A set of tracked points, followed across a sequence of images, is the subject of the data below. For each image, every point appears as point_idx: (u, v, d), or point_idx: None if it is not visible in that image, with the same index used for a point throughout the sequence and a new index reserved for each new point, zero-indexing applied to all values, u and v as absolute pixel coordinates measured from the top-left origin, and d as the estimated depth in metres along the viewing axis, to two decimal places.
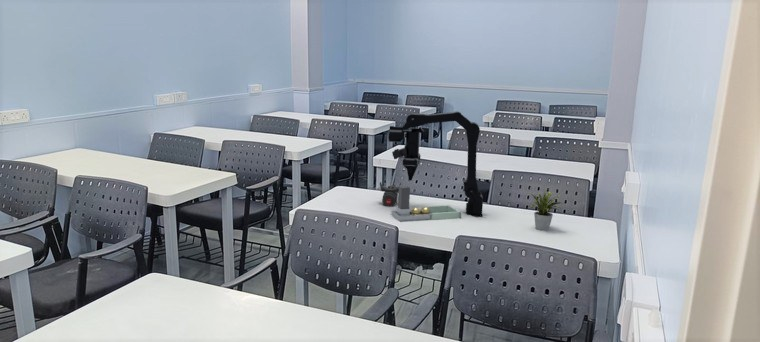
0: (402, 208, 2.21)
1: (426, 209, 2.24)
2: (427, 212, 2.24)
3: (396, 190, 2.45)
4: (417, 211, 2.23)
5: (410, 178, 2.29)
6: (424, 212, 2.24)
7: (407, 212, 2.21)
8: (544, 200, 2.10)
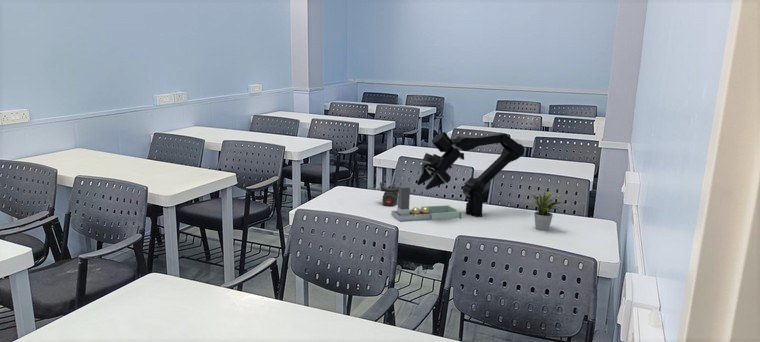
0: (402, 208, 2.21)
1: (426, 209, 2.24)
2: (427, 212, 2.24)
3: (396, 190, 2.45)
4: (417, 211, 2.23)
5: (428, 187, 2.19)
6: (424, 212, 2.24)
7: (407, 212, 2.21)
8: (544, 200, 2.10)
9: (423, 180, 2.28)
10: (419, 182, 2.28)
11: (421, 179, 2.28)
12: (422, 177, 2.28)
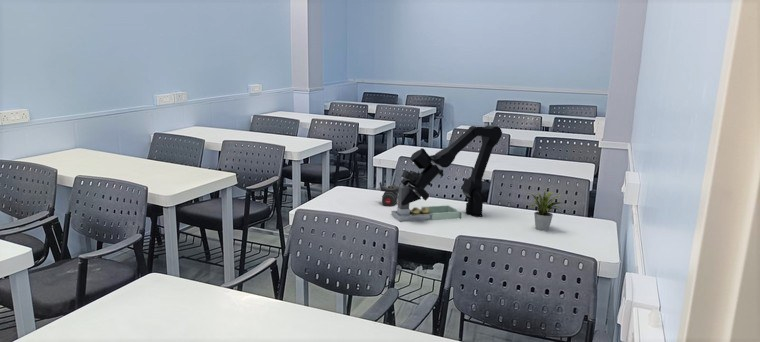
0: (402, 208, 2.21)
1: (426, 209, 2.24)
2: (427, 212, 2.24)
3: (396, 190, 2.45)
4: (417, 211, 2.23)
5: (404, 203, 2.20)
6: (424, 212, 2.24)
7: (407, 212, 2.21)
8: (544, 200, 2.10)
9: None
10: None
11: None
12: None
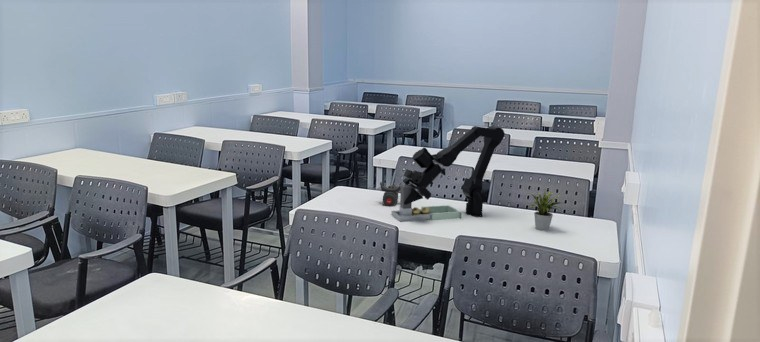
0: (404, 207, 2.21)
1: (426, 209, 2.24)
2: (427, 212, 2.24)
3: (396, 190, 2.45)
4: (417, 211, 2.23)
5: (406, 202, 2.20)
6: (424, 212, 2.24)
7: (410, 211, 2.22)
8: (544, 200, 2.10)
9: None
10: None
11: None
12: None
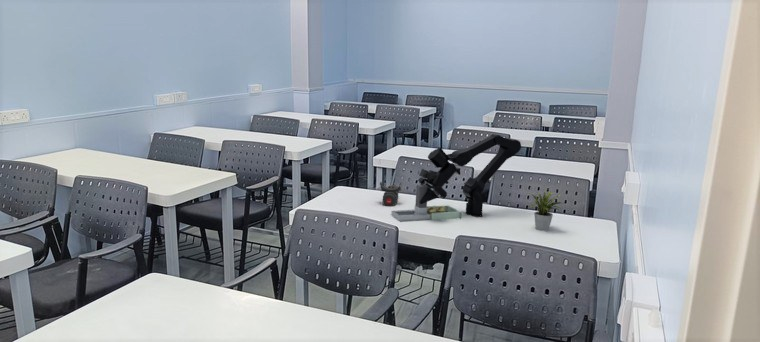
0: (420, 206, 2.23)
1: None
2: (443, 211, 2.27)
3: (396, 190, 2.45)
4: None
5: (422, 202, 2.22)
6: None
7: (425, 211, 2.24)
8: (544, 200, 2.10)
9: None
10: None
11: None
12: None
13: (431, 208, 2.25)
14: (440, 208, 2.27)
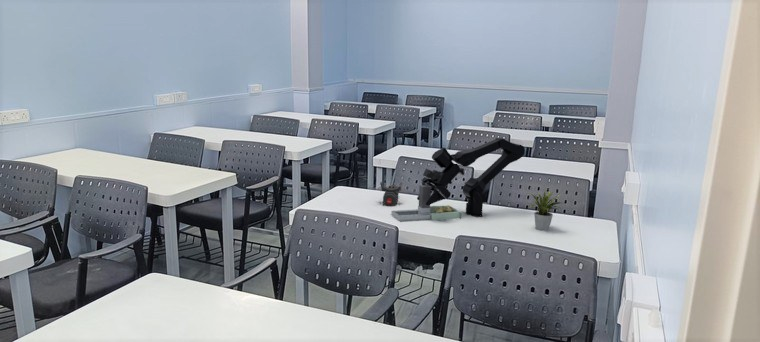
0: (423, 207, 2.23)
1: (446, 210, 2.28)
2: (449, 211, 2.28)
3: (397, 190, 2.45)
4: None
5: (428, 203, 2.20)
6: None
7: (428, 211, 2.24)
8: (544, 200, 2.10)
9: None
10: None
11: None
12: None
13: (443, 211, 2.26)
14: (452, 208, 2.29)
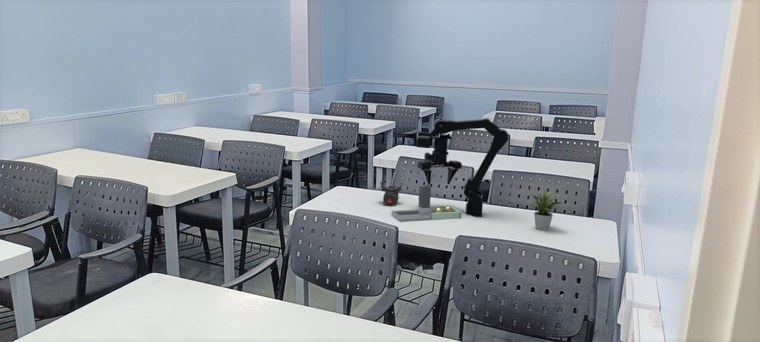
0: (423, 207, 2.23)
1: (446, 210, 2.28)
2: (449, 211, 2.28)
3: (397, 190, 2.45)
4: None
5: (428, 182, 2.33)
6: None
7: (428, 211, 2.24)
8: (544, 200, 2.10)
9: (449, 177, 2.35)
10: (447, 181, 2.37)
11: (448, 178, 2.36)
12: (448, 175, 2.37)
13: (442, 211, 2.25)
14: (451, 208, 2.29)
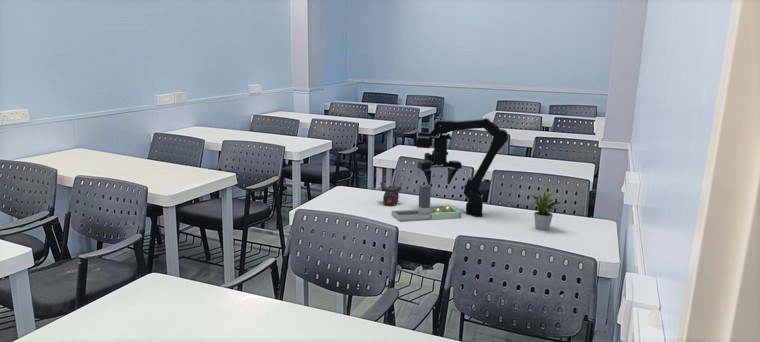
0: (423, 207, 2.23)
1: (446, 210, 2.28)
2: (449, 211, 2.27)
3: (397, 190, 2.46)
4: None
5: (428, 182, 2.33)
6: None
7: (428, 211, 2.24)
8: (544, 200, 2.10)
9: (449, 177, 2.36)
10: (447, 181, 2.37)
11: (448, 178, 2.37)
12: (448, 176, 2.37)
13: (441, 212, 2.24)
14: (451, 208, 2.28)
